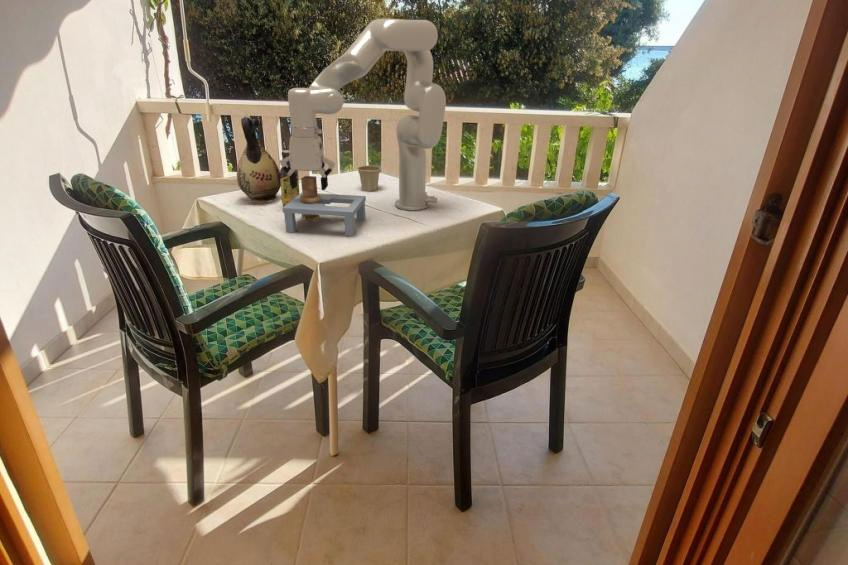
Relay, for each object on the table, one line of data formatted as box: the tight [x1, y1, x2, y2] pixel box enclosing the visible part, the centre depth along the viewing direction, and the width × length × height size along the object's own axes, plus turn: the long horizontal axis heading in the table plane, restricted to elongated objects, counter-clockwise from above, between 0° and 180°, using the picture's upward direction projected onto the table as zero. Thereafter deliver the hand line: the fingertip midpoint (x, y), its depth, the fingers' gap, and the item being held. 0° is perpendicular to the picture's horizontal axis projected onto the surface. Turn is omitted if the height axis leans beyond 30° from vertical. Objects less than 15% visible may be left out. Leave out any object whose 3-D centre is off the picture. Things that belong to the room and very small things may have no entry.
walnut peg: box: [300, 175, 321, 222], centre depth 157 cm, size 6×6×14 cm
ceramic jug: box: [236, 116, 281, 204], centre depth 176 cm, size 17×15×30 cm
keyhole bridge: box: [281, 192, 367, 238], centre depth 158 cm, size 17×22×8 cm
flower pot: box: [356, 165, 382, 192], centre depth 197 cm, size 9×9×9 cm
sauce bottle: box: [279, 149, 301, 208], centre depth 172 cm, size 6×6×20 cm
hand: (309, 188), depth 155 cm, fingers open, 9 cm apart
